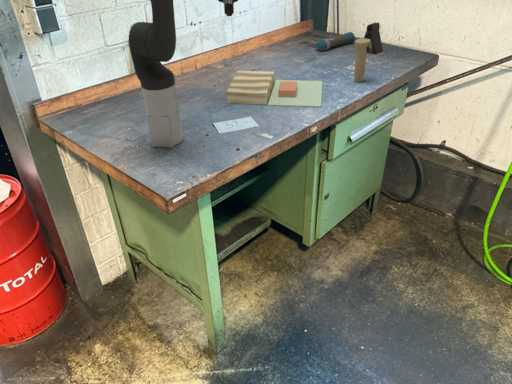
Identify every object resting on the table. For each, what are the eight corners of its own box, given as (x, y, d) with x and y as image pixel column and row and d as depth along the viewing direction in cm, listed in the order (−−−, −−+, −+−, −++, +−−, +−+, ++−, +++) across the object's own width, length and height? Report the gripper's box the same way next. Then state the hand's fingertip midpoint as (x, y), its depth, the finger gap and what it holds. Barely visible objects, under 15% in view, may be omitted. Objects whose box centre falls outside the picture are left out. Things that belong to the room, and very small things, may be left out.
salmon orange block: (278, 90, 150) (278, 96, 151) (295, 90, 149) (295, 97, 151) (280, 81, 157) (280, 87, 159) (296, 81, 157) (296, 87, 158)
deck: (266, 104, 147) (266, 93, 145) (226, 103, 149) (226, 92, 147) (274, 81, 165) (274, 71, 163) (238, 81, 167) (237, 70, 165)
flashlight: (354, 43, 205) (355, 32, 202) (322, 53, 194) (322, 42, 191) (346, 41, 208) (347, 31, 205) (314, 50, 197) (314, 39, 195)
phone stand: (358, 51, 195) (361, 23, 188) (365, 47, 198) (368, 20, 191) (375, 54, 189) (379, 26, 183) (382, 51, 193) (386, 23, 186)
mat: (321, 107, 144) (321, 106, 144) (267, 105, 146) (267, 104, 146) (322, 82, 163) (322, 81, 163) (275, 80, 166) (275, 79, 166)
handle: (348, 82, 162) (352, 41, 154) (357, 77, 166) (361, 37, 158) (359, 84, 160) (364, 43, 151) (368, 79, 164) (373, 39, 155)
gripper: (202, -43, 129) (207, 18, 138) (245, -44, 127) (247, 18, 136) (208, -46, 135) (212, 13, 144) (249, -46, 133) (251, 13, 142)
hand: (229, 15), depth 140 cm, fingers closed
